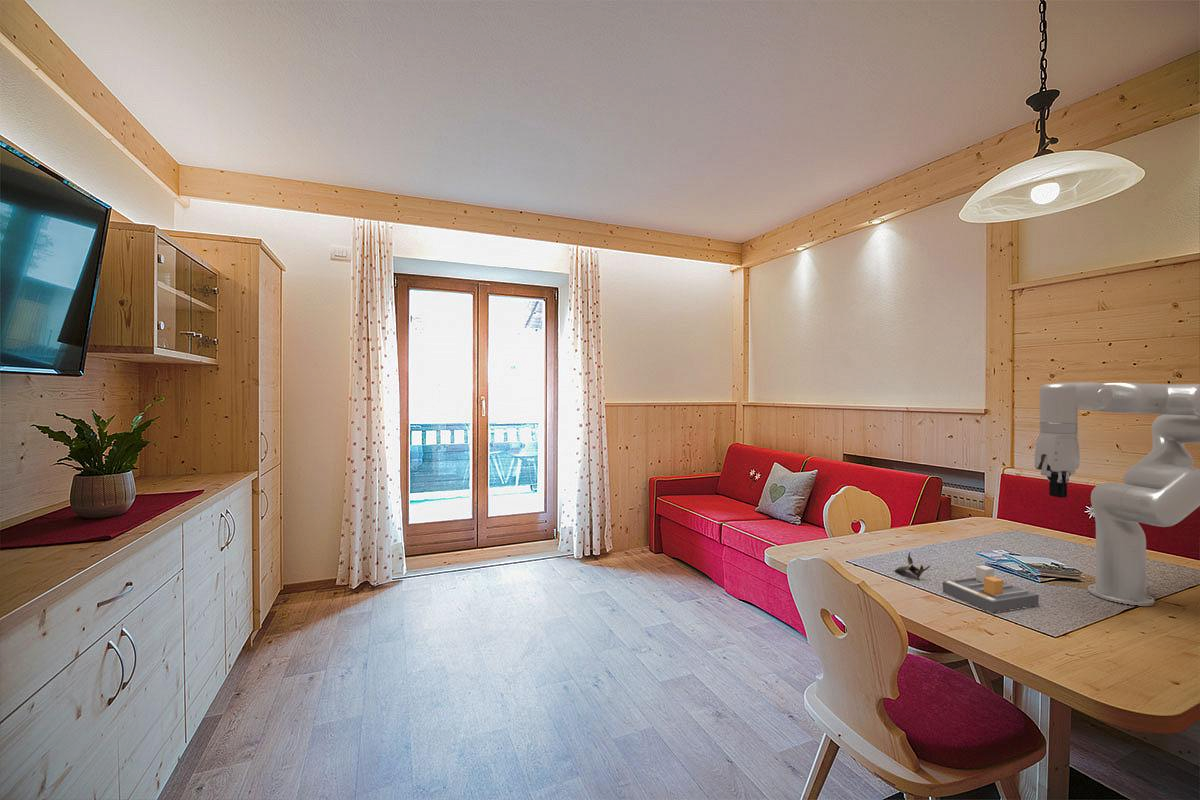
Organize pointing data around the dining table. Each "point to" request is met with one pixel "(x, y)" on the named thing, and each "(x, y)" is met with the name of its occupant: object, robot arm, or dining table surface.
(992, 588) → the orange tab
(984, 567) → the white block
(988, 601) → the grey slotted tray
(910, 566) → the eagle figurine
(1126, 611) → the dining table surface
